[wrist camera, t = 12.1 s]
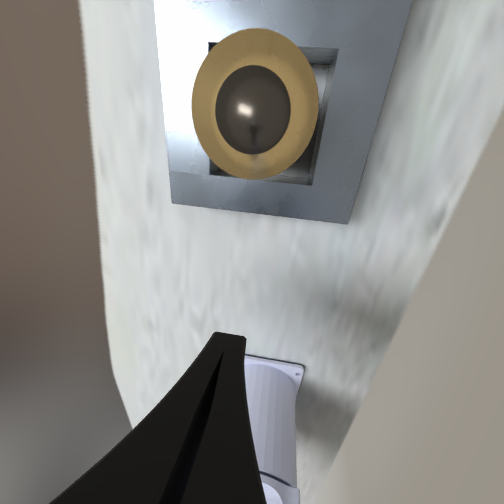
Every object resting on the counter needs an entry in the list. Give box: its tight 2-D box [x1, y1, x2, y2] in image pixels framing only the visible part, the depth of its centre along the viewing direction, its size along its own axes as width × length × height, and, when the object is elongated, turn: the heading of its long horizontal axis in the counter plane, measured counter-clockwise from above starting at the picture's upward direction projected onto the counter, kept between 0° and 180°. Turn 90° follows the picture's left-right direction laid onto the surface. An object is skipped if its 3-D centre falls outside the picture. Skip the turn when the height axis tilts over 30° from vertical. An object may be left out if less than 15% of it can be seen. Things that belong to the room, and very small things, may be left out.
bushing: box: [191, 28, 319, 180], centre depth 11 cm, size 4×4×7 cm
